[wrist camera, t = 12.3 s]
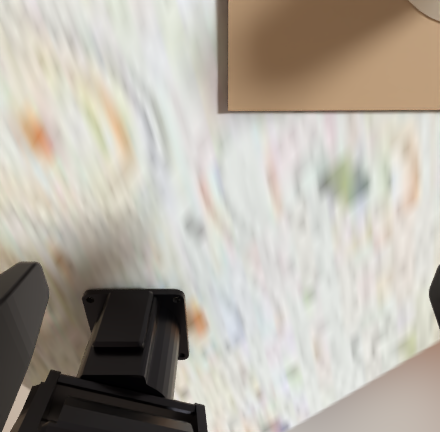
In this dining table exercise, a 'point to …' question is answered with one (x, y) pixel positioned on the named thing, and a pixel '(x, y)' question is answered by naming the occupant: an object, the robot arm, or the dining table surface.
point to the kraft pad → (333, 55)
